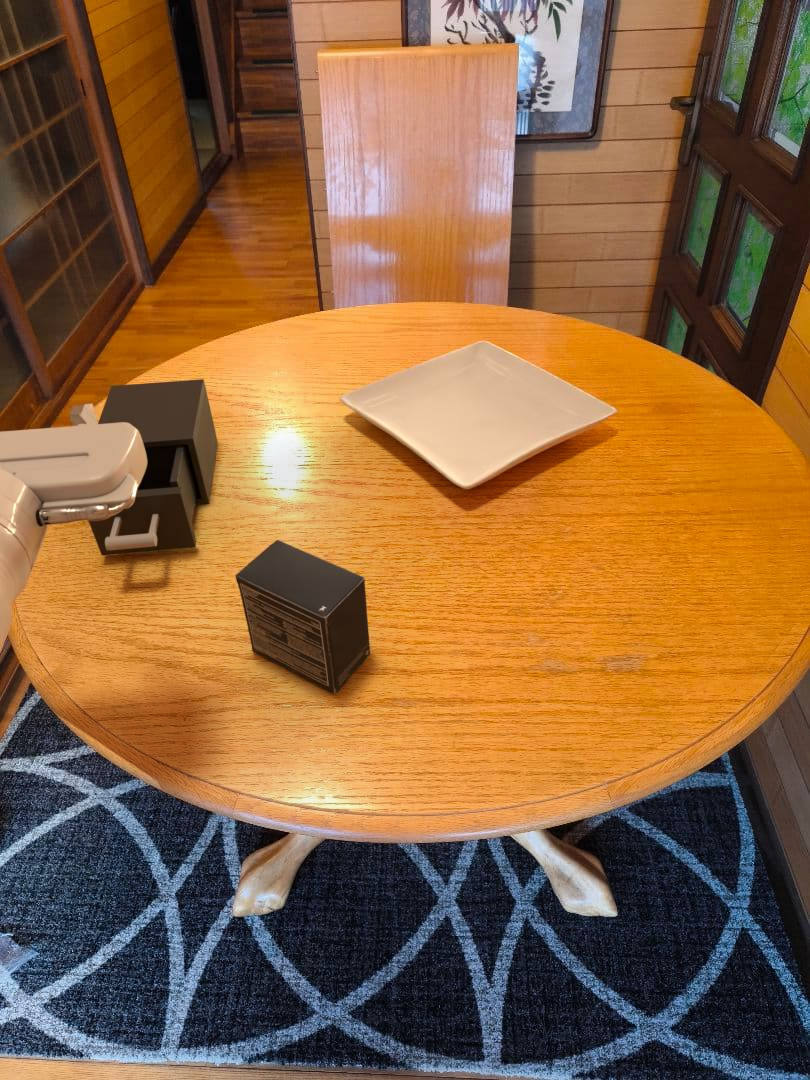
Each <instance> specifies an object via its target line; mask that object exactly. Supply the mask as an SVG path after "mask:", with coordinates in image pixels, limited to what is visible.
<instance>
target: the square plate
mask: <svg viewBox="0 0 810 1080" xmlns="http://www.w3.org/2000/svg"><path fill="white" fill-rule="evenodd" d="M339 401H340V402H341V403H342V404H343V405H345V406H346V407H348V408H349V409H350V410H351V411H353V412H355V413H357V414H358V415H359V416H361V417H362V418H364V420H366V421H368V422H369V423H371V424H372V425H374V426H375V427H376V428H379V429H380V430H382V431H383V432H385V433H387V434H388V435H389V436H391V437H393V438H394V439H395V440H397V442H400V443H401V444H402V445H404V446H405V447H406V448H408V449H409V450H410V451H412V452H413V453H415V454H416V455H417V456H418V457H420V458H421V459H422V460H423V461H424V462H426V463H427V464H428V465H430V466H431V467H432V468H433V469H435V470H436V471H437V472H438V473H440V474H441V475H442V476H443V477H445V478H446V479H447V480H449V481H450V482H451V483H453V484H454V485H456V486H457V487H460V488H461V489H463V490H470V489H473V488H475V487H477V486H480V485H482V484H484V483H485V482H488V481H490V480H492V479H494V478H495V477H497V476H500V475H501V474H503V473H504V472H506V471H508V470H510V469H511V468H513V467H515V466H517V465H519V464H521V463H523V462H525V461H527V460H528V459H530V458H532V457H534V456H536V455H538V454H540V453H542V452H544V451H546V450H548V449H550V448H552V447H554V446H556V445H559V444H560V443H563V442H565V441H567V440H569V439H572V438H574V437H576V436H580V435H581V434H583V433H586V432H587V431H589V430H591V429H593V428H595V427H597V426H599V425H601V424H602V423H604V422H605V421H606V420H608V419H610V418H611V417H613V416H615V415H616V414H617V413H618V409H616V408H615V407H614V406H612V405H610V404H608V403H607V402H605V401H603V400H602V399H599V398H597V397H596V396H594V395H592V394H590V393H588V392H587V391H584V390H582V389H581V388H579V387H577V386H575V385H573V384H572V383H570V382H568V381H566V380H565V379H562V378H560V377H558V376H556V375H555V374H554V373H551V372H549V371H547V370H545V369H544V368H541V367H539V366H537V365H535V364H534V363H532V362H529V361H527V360H526V359H523V358H522V357H520V356H517V355H516V354H514V353H512V352H510V351H507V350H506V349H504V348H501V347H500V346H498V345H496V344H493V343H492V342H489V341H487V340H480V341H477V342H473V343H472V344H469V345H465V346H463V347H460V348H458V349H455V350H452V351H450V352H447V353H445V354H441V355H440V356H436V357H433V358H431V359H428V360H425V361H423V362H420V363H418V364H415V365H413V366H410V367H407V368H405V369H402V370H400V371H397V372H395V373H392V374H390V375H387V376H385V377H382V378H379V379H378V380H375V381H373V382H370V383H368V384H365V385H363V386H360V387H358V388H356V389H354V390H351V391H348V392H347V393H344V394H342V395H341V396H340V397H339Z"/></svg>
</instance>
